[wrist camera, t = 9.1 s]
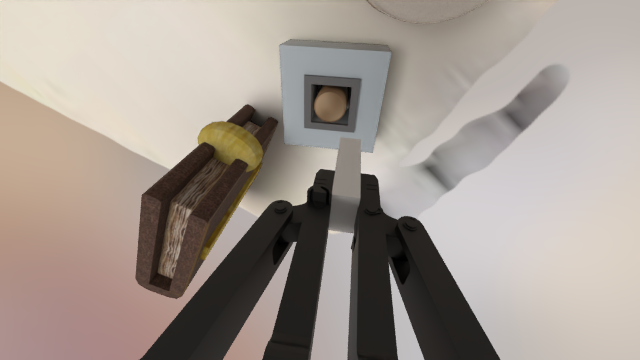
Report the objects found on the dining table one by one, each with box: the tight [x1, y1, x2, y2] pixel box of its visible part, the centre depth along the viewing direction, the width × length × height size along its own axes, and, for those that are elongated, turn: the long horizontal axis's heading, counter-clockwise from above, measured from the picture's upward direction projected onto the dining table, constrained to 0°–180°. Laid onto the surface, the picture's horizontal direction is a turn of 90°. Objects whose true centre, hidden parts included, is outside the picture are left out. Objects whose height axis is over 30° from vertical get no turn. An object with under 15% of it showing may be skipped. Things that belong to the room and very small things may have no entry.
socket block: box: [279, 39, 392, 153], centre depth 37 cm, size 14×14×7 cm
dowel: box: [314, 85, 348, 122], centre depth 36 cm, size 4×4×6 cm
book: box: [136, 105, 278, 299], centre depth 38 cm, size 22×8×25 cm, turn 152°
